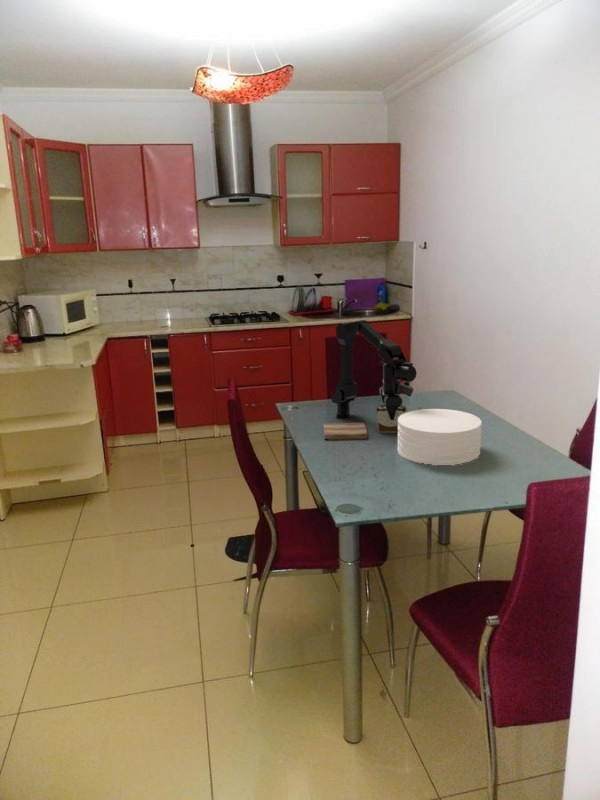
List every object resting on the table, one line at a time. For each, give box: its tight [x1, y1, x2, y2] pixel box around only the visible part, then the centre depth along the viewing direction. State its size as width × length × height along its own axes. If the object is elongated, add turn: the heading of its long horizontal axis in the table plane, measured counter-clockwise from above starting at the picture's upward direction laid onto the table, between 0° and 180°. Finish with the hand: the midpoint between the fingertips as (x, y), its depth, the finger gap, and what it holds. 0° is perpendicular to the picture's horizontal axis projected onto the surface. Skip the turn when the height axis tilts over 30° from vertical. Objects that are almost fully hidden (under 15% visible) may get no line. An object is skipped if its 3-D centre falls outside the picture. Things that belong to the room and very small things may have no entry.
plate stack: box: [397, 408, 483, 466], centre depth 205 cm, size 28×28×12 cm
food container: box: [374, 403, 408, 433], centre depth 229 cm, size 12×6×10 cm, turn 84°
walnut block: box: [322, 422, 368, 441], centre depth 228 cm, size 14×16×2 cm
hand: (390, 416), depth 229 cm, fingers open, 9 cm apart
